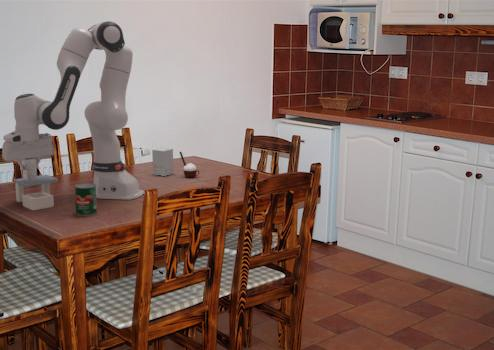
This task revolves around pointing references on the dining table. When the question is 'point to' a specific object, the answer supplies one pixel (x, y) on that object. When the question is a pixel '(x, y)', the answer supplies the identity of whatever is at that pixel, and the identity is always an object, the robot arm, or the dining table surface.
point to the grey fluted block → (162, 161)
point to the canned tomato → (85, 199)
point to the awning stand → (36, 199)
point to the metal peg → (30, 170)
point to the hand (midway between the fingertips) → (29, 169)
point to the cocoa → (189, 168)
